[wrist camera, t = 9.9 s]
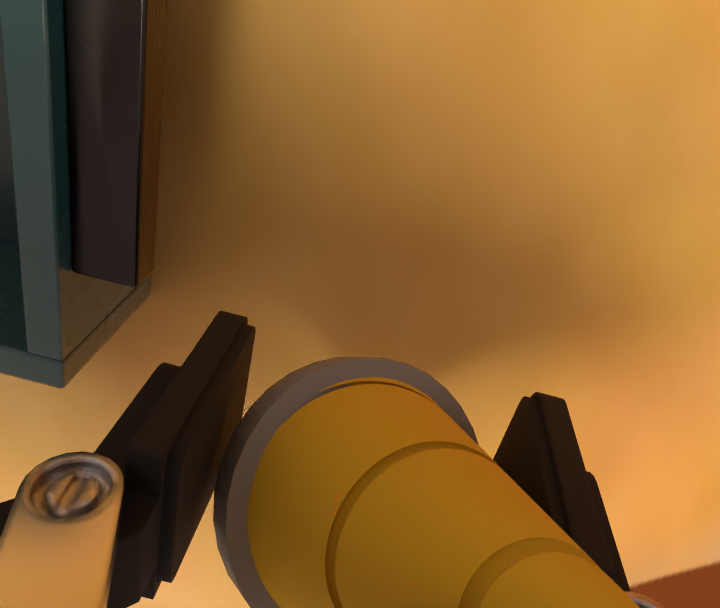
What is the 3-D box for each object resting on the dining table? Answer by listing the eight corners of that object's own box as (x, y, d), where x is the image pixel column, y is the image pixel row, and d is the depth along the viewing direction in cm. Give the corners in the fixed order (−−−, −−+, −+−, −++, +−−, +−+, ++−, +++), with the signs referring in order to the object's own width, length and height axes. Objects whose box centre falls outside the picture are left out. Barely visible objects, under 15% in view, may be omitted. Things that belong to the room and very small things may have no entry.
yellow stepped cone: (202, 342, 13) (474, 335, 4) (402, 366, 16) (845, 393, 7) (168, 587, 13) (406, 1164, 4) (382, 574, 15) (844, 910, 6)
